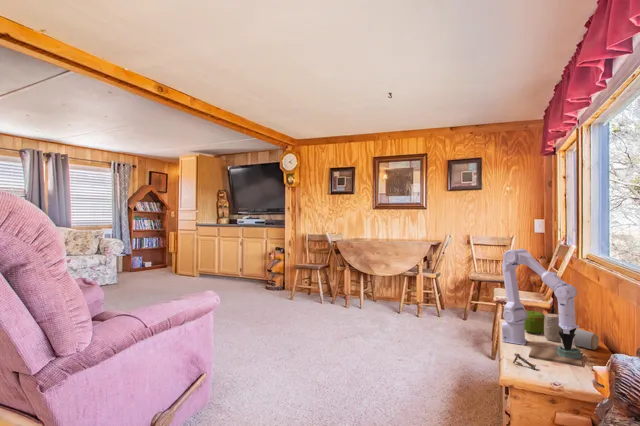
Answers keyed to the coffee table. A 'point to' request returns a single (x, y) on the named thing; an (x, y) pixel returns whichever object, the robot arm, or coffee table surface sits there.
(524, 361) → the wooden post with brackets
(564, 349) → the clear glass jar
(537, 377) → the coffee table surface
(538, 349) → the board
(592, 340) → the grey cylinder
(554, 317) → the carving
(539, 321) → the apple
